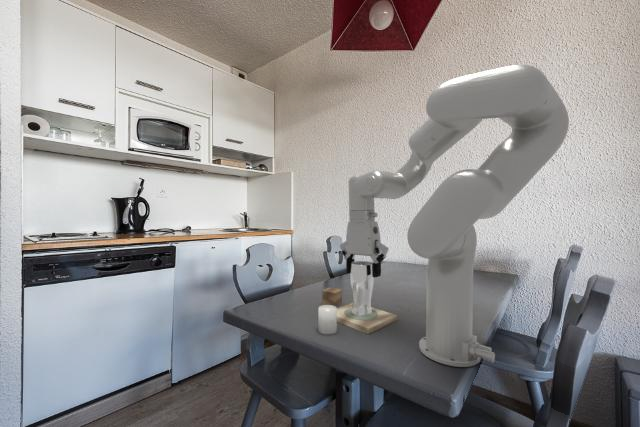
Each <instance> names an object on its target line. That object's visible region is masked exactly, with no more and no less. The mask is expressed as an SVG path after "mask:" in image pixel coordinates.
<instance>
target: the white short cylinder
mask: <svg viewBox="0 0 640 427" xmlns="http://www.w3.org/2000/svg"><path fill="white" fill-rule="evenodd" d="M337 308H338V306H337V307H335V306H333V305H322V304H321V305H319V307H318V309H317V310H318V313H317V314H318V317H317V319H318V324H317V325H318V330H317V331H318V332H319V333H320V334H323V335H333V334H335V333H337V331H338V322H337Z"/></svg>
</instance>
